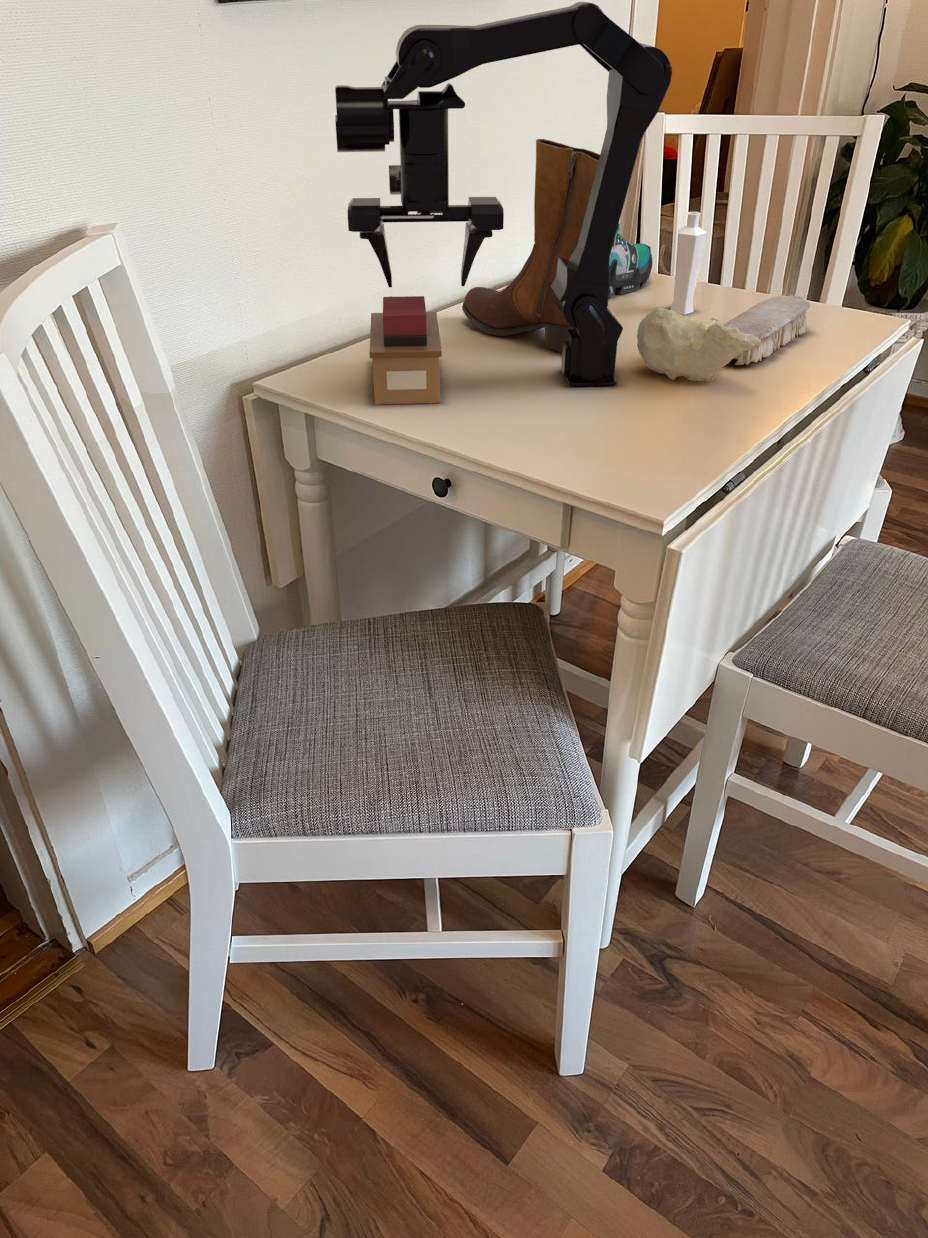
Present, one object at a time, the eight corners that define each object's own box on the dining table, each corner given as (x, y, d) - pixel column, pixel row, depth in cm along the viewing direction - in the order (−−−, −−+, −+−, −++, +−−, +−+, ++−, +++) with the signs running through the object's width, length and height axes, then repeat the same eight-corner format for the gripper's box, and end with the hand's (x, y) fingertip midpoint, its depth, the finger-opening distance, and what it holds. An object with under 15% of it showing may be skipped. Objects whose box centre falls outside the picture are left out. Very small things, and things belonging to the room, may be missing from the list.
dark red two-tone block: (424, 316, 131) (423, 288, 129) (427, 345, 121) (426, 315, 119) (384, 317, 131) (383, 288, 129) (384, 346, 121) (382, 316, 119)
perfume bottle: (660, 308, 157) (672, 211, 149) (682, 305, 159) (695, 208, 150) (677, 316, 154) (689, 217, 145) (699, 313, 155) (713, 214, 147)
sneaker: (667, 281, 171) (678, 190, 162) (580, 309, 157) (587, 211, 148) (625, 270, 176) (634, 182, 167) (538, 297, 162) (543, 202, 154)
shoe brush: (767, 319, 153) (773, 287, 150) (814, 328, 149) (820, 296, 146) (702, 361, 137) (708, 327, 134) (752, 373, 133) (759, 337, 130)
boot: (452, 321, 151) (451, 132, 136) (496, 310, 156) (500, 126, 141) (564, 366, 135) (578, 156, 120) (610, 352, 140) (628, 149, 125)
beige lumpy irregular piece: (616, 374, 138) (632, 336, 123) (637, 329, 139) (655, 285, 124) (715, 417, 137) (743, 383, 122) (735, 371, 138) (766, 332, 123)
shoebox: (437, 360, 137) (436, 311, 133) (442, 404, 124) (441, 350, 120) (373, 362, 136) (371, 312, 132) (372, 405, 123) (369, 352, 119)
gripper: (496, 139, 120) (493, 267, 129) (346, 140, 119) (354, 269, 128) (505, 154, 111) (502, 291, 120) (343, 155, 110) (352, 294, 119)
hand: (426, 285), depth 122 cm, fingers open, 9 cm apart
